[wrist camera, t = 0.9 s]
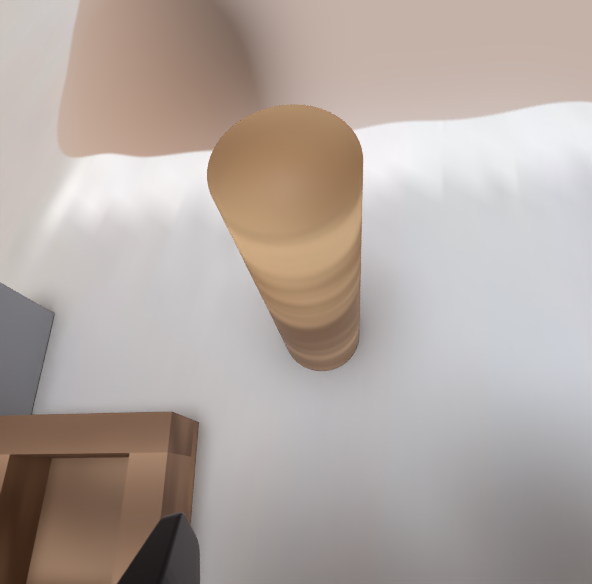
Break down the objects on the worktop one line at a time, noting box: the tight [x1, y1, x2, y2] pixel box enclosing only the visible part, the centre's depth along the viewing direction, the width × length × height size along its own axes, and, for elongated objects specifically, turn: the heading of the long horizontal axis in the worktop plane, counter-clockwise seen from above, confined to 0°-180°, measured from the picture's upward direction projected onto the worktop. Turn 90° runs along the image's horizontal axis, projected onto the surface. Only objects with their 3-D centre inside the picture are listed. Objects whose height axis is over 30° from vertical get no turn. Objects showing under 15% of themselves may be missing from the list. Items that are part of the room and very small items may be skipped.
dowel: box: [207, 105, 363, 371], centre depth 18 cm, size 4×4×14 cm
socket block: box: [0, 412, 199, 584], centre depth 20 cm, size 9×9×4 cm
